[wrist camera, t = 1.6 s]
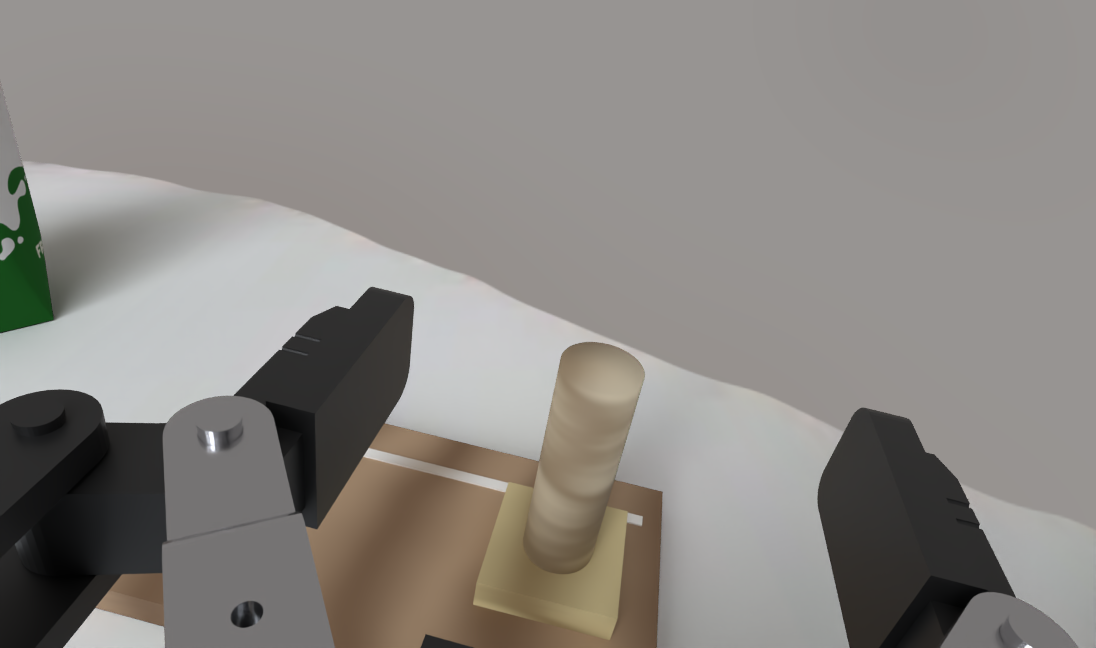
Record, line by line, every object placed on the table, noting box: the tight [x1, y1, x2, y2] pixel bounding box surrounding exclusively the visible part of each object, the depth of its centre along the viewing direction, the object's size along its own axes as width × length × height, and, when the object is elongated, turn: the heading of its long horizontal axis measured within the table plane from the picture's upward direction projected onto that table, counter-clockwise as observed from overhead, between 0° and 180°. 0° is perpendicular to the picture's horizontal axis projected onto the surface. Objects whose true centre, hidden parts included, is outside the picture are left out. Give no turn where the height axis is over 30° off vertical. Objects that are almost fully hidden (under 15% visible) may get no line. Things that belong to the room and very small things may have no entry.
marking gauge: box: [473, 342, 645, 640], centre depth 28 cm, size 6×6×12 cm
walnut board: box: [95, 423, 663, 648], centre depth 32 cm, size 24×13×2 cm, turn 80°
